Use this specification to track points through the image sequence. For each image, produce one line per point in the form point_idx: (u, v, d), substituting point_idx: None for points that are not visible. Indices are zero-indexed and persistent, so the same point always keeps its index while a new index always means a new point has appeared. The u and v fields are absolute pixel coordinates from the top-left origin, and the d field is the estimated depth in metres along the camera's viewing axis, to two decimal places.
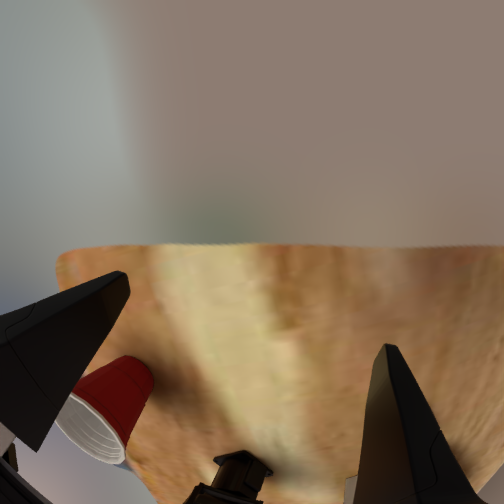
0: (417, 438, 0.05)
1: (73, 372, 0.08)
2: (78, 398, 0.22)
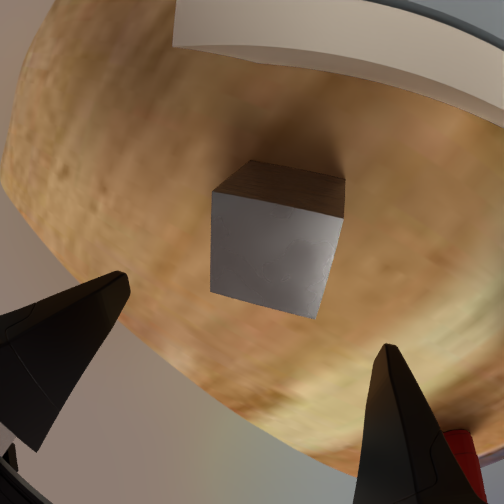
0: (417, 438, 0.05)
1: (73, 372, 0.08)
2: None
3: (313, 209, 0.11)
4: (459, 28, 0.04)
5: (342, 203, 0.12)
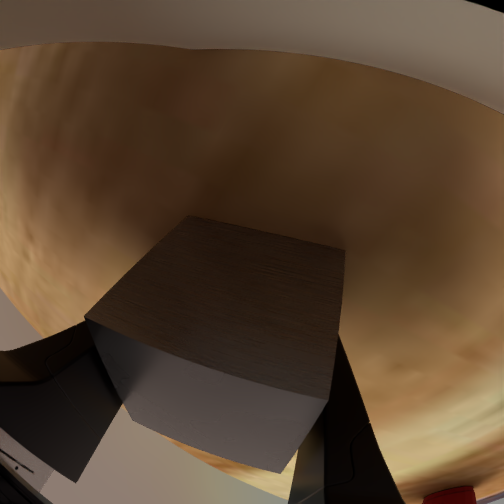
0: (338, 428, 0.05)
1: (117, 397, 0.08)
2: None
3: (265, 375, 0.05)
4: None
5: (333, 338, 0.06)
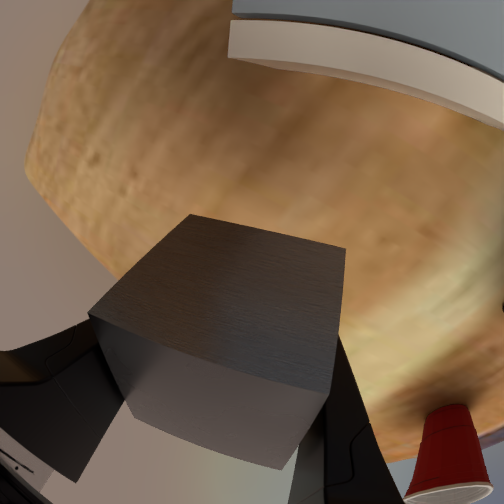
0: (337, 428, 0.05)
1: (117, 397, 0.08)
2: None
3: (267, 369, 0.05)
4: (428, 47, 0.07)
5: (334, 334, 0.06)
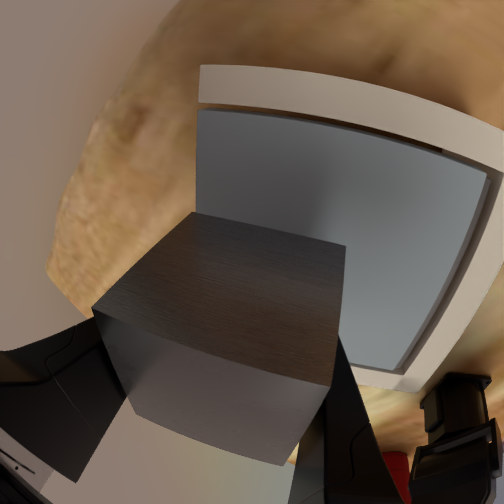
0: (338, 428, 0.05)
1: (117, 397, 0.08)
2: None
3: (270, 363, 0.05)
4: None
5: (335, 328, 0.06)
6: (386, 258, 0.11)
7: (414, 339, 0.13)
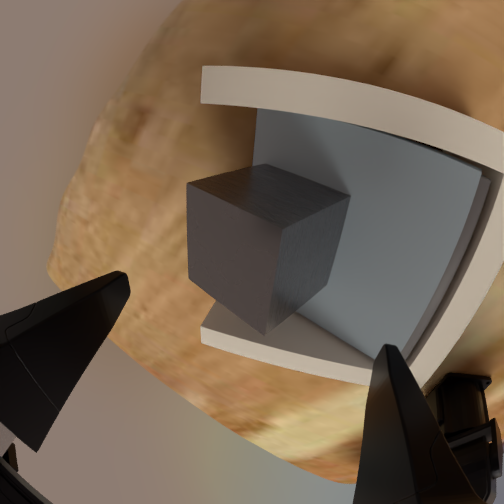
0: (417, 438, 0.05)
1: (73, 372, 0.08)
2: None
3: (259, 214, 0.10)
4: None
5: (306, 215, 0.10)
6: (386, 243, 0.12)
7: (411, 338, 0.13)
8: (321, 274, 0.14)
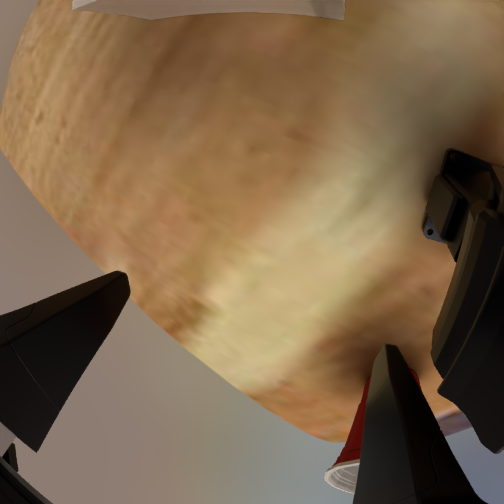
0: (417, 438, 0.05)
1: (73, 372, 0.08)
2: None
3: None
4: None
5: None
6: None
7: None
8: None
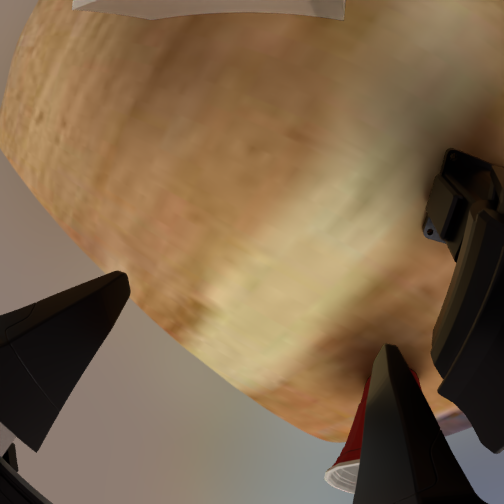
0: (417, 438, 0.05)
1: (73, 372, 0.08)
2: None
3: None
4: None
5: None
6: None
7: None
8: None
